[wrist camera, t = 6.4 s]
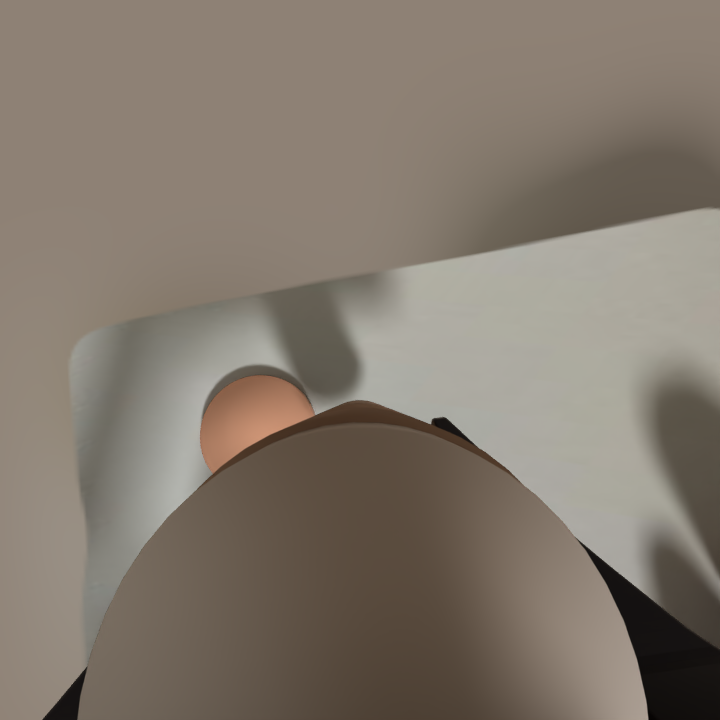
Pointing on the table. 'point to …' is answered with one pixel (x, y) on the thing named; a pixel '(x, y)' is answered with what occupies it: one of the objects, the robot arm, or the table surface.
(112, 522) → the table surface
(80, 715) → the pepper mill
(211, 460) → the coaster
